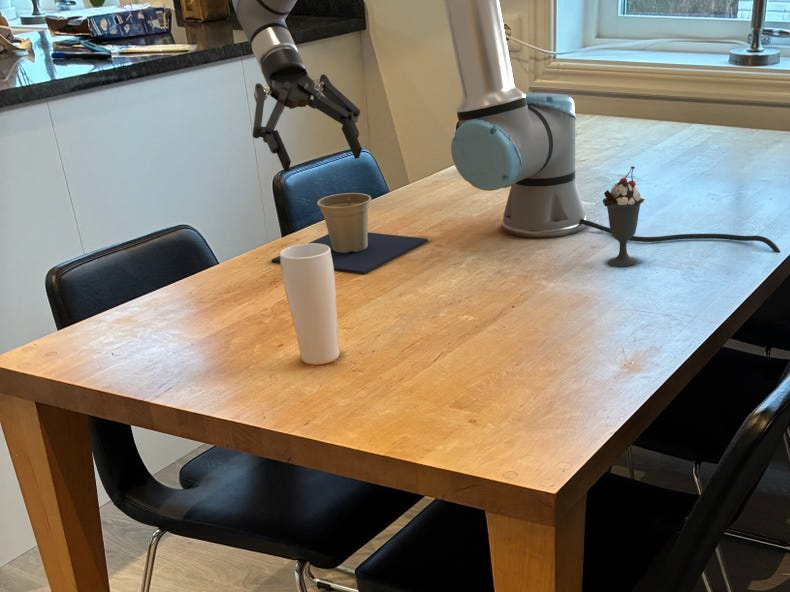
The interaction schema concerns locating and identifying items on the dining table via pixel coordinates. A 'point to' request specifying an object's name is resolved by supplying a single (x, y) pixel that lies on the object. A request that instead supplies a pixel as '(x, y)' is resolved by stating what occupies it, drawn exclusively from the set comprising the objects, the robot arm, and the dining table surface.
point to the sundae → (623, 217)
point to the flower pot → (346, 220)
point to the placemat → (370, 252)
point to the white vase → (312, 300)
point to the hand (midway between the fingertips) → (323, 160)
